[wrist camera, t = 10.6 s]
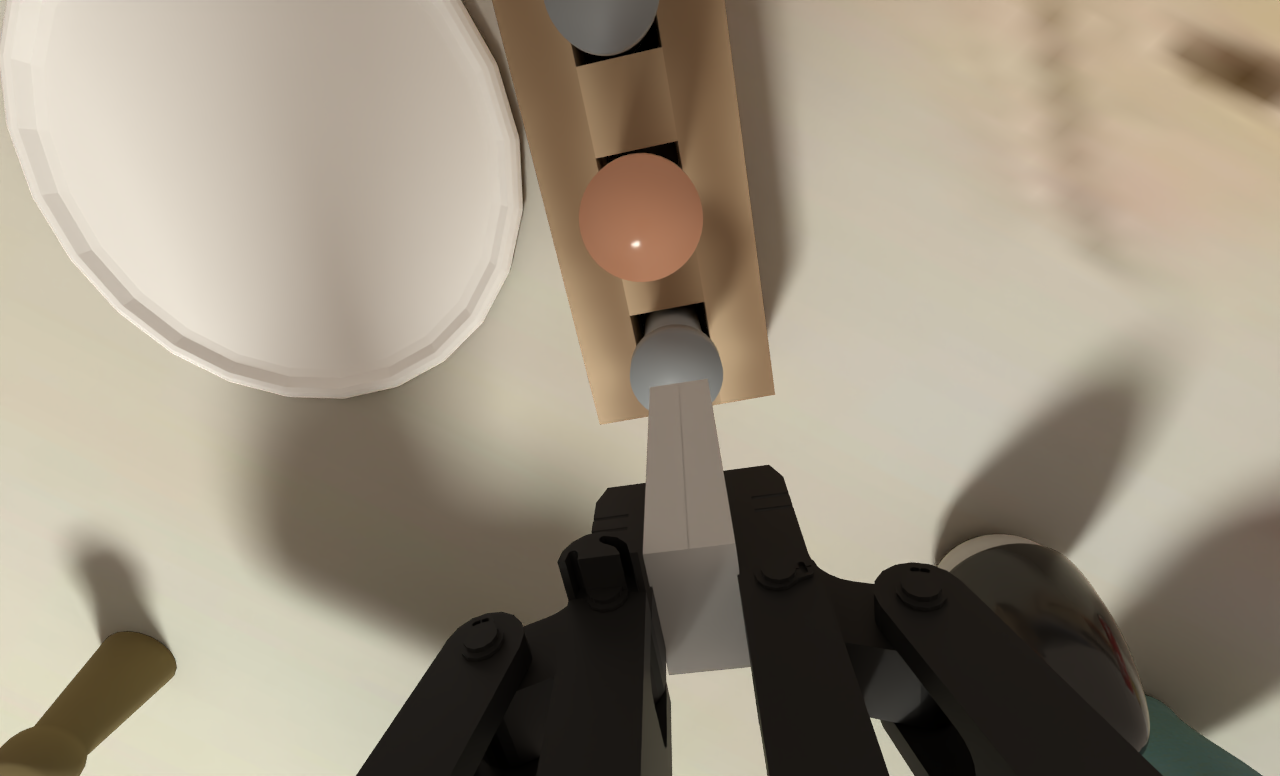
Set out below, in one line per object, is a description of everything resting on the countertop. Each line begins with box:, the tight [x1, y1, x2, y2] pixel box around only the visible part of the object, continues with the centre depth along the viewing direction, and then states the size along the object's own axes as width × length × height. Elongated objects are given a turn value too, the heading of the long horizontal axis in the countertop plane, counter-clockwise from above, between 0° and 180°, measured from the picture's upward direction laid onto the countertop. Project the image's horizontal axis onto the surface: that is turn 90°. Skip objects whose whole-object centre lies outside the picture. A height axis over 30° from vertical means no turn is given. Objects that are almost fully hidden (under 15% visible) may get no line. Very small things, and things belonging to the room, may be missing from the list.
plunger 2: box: [630, 304, 723, 410], centre depth 34 cm, size 4×4×10 cm
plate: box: [0, 0, 523, 399], centre depth 36 cm, size 29×29×1 cm
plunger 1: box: [544, 0, 659, 58], centre depth 28 cm, size 4×4×10 cm
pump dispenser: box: [938, 534, 1150, 756], centre depth 39 cm, size 10×10×15 cm
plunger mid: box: [579, 153, 703, 282], centre depth 27 cm, size 4×4×10 cm
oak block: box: [492, 0, 775, 425], centre depth 33 cm, size 10×24×6 cm, turn 11°
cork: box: [0, 631, 177, 776], centre depth 47 cm, size 6×6×11 cm
